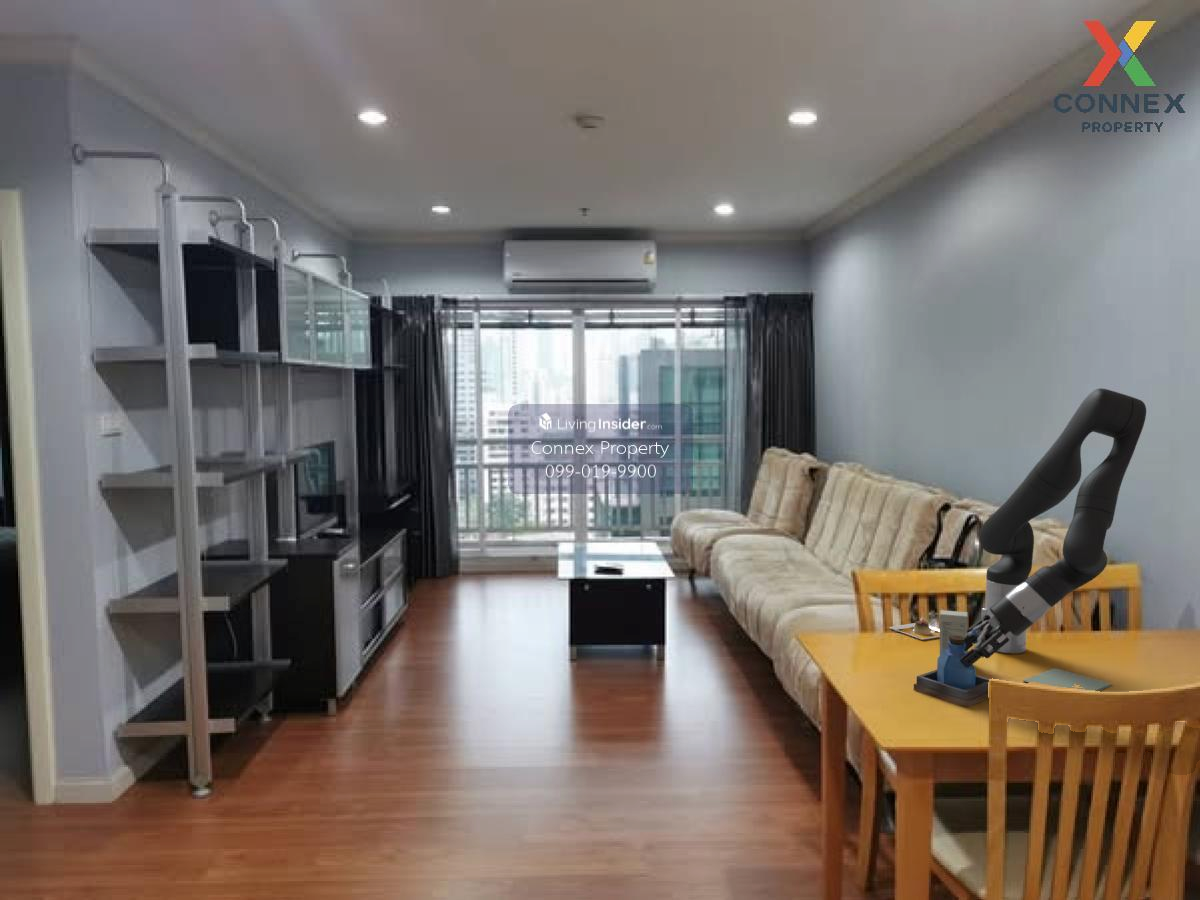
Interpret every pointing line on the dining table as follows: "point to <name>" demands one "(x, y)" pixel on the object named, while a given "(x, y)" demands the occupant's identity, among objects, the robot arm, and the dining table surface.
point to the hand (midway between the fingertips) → (959, 657)
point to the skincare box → (952, 626)
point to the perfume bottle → (955, 665)
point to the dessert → (918, 628)
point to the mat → (1068, 680)
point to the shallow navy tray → (952, 689)
